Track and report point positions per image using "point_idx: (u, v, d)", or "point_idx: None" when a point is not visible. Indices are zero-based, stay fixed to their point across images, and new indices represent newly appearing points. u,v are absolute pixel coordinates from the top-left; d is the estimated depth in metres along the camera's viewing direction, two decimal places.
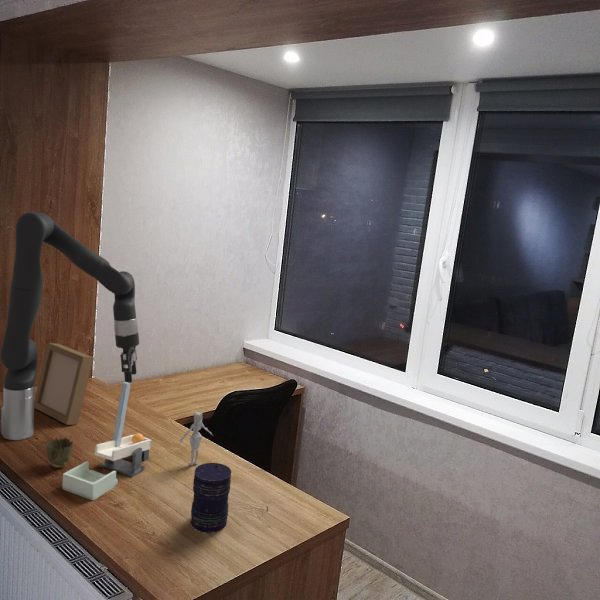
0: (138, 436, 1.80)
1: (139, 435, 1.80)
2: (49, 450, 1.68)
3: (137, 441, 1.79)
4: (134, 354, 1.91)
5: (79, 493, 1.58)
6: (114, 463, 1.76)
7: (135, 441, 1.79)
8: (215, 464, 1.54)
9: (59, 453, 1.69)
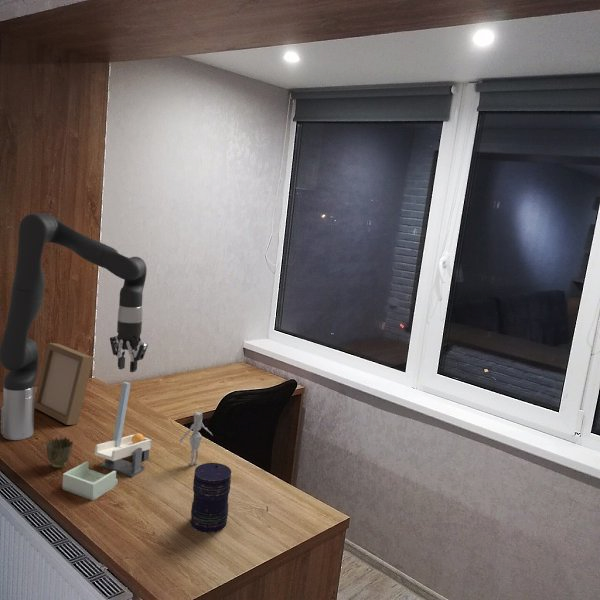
0: (138, 436, 1.80)
1: (139, 435, 1.80)
2: (49, 450, 1.68)
3: (137, 441, 1.79)
4: None
5: (79, 493, 1.58)
6: (114, 463, 1.76)
7: (135, 441, 1.79)
8: (215, 464, 1.54)
9: (59, 453, 1.69)
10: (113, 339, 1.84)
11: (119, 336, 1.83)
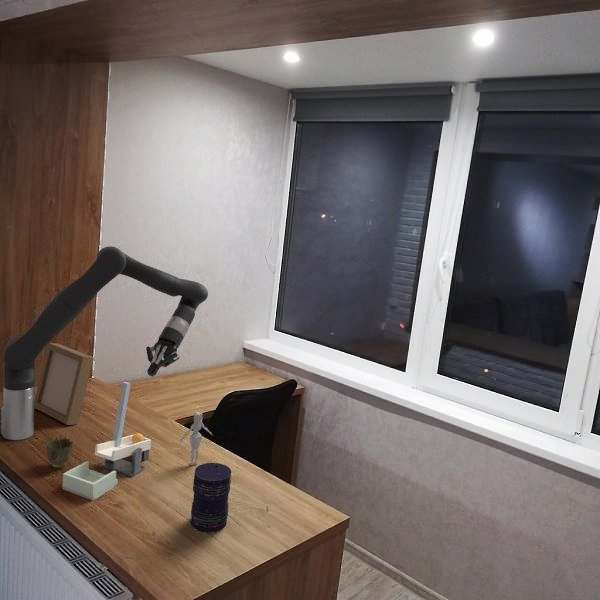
0: (138, 436, 1.80)
1: (139, 435, 1.80)
2: (49, 450, 1.68)
3: (137, 441, 1.79)
4: None
5: (79, 493, 1.58)
6: (114, 463, 1.76)
7: (135, 441, 1.79)
8: (215, 464, 1.54)
9: (59, 453, 1.69)
10: (149, 348, 1.92)
11: (157, 343, 1.93)
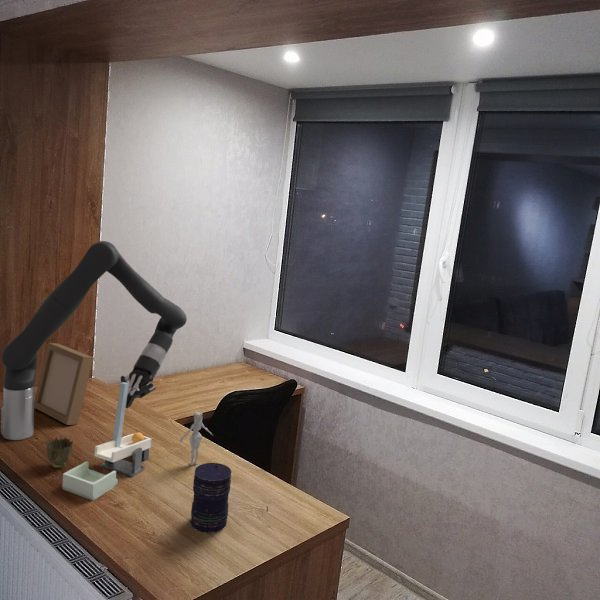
0: (138, 435, 1.79)
1: (139, 434, 1.80)
2: (49, 450, 1.68)
3: (137, 440, 1.79)
4: None
5: (79, 493, 1.58)
6: (114, 463, 1.76)
7: (135, 440, 1.79)
8: (215, 464, 1.54)
9: (59, 453, 1.69)
10: (124, 377, 1.83)
11: (132, 372, 1.83)
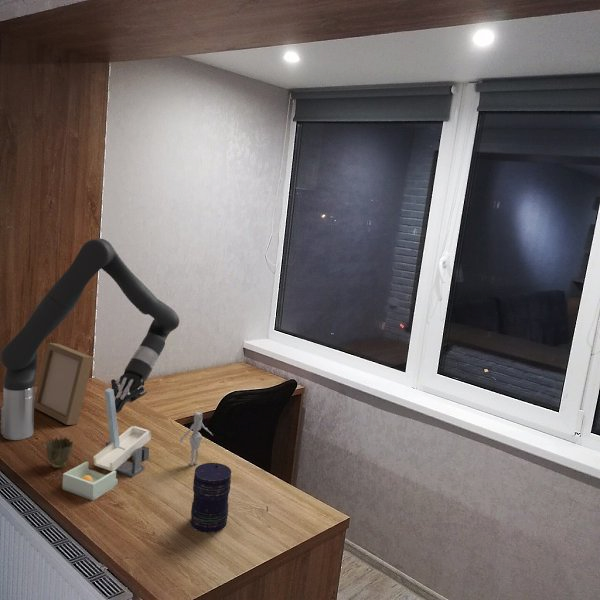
0: None
1: None
2: (49, 450, 1.68)
3: None
4: None
5: (79, 493, 1.58)
6: None
7: None
8: (215, 464, 1.54)
9: (59, 453, 1.69)
10: (115, 381, 1.78)
11: (123, 376, 1.79)
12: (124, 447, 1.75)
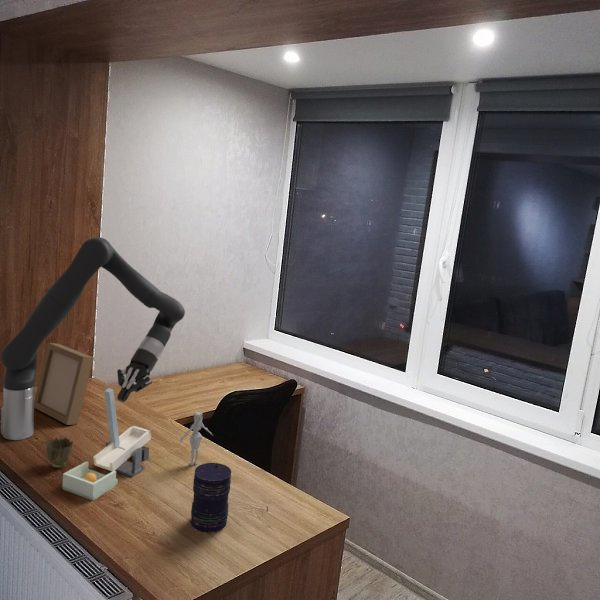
0: (89, 477, 1.61)
1: (91, 475, 1.62)
2: (49, 450, 1.68)
3: None
4: None
5: (79, 493, 1.58)
6: None
7: None
8: (215, 464, 1.54)
9: (59, 453, 1.69)
10: (121, 371, 1.80)
11: (129, 366, 1.80)
12: (124, 447, 1.75)
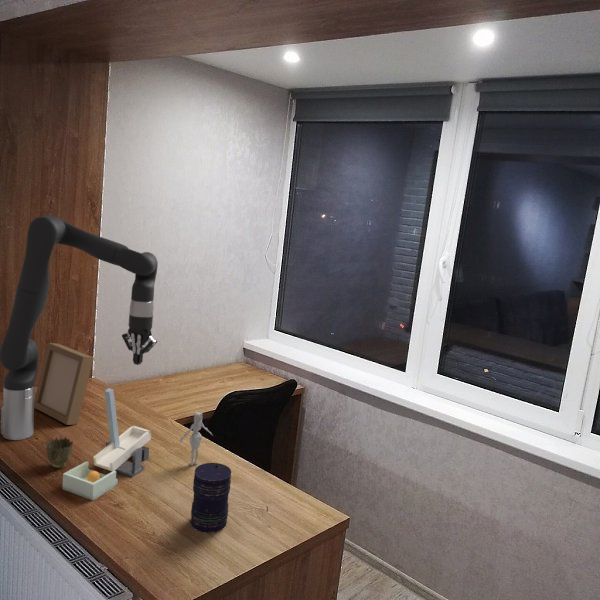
0: (96, 472, 1.63)
1: (97, 472, 1.64)
2: (49, 450, 1.68)
3: (93, 477, 1.62)
4: None
5: (79, 493, 1.58)
6: None
7: (91, 476, 1.62)
8: (215, 464, 1.54)
9: (59, 453, 1.69)
10: (125, 335, 1.87)
11: (130, 330, 1.86)
12: (124, 447, 1.75)
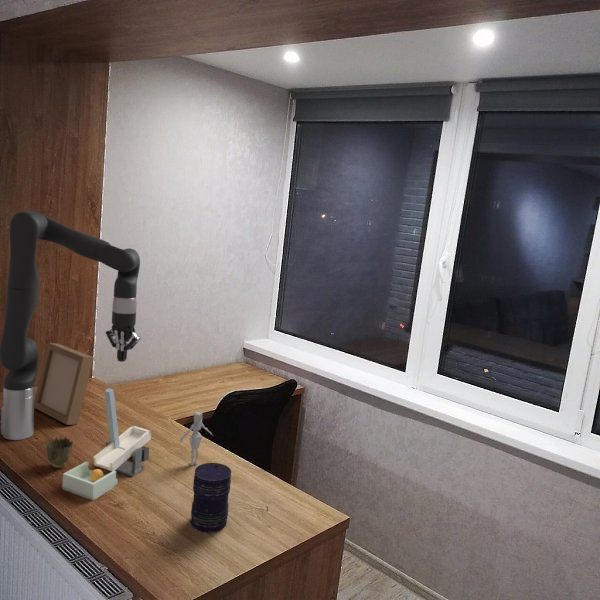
0: None
1: None
2: (49, 450, 1.68)
3: (99, 472, 1.64)
4: None
5: (79, 493, 1.58)
6: None
7: (97, 470, 1.64)
8: (215, 464, 1.54)
9: (59, 453, 1.69)
10: (109, 332, 1.87)
11: (114, 327, 1.85)
12: (124, 447, 1.75)
